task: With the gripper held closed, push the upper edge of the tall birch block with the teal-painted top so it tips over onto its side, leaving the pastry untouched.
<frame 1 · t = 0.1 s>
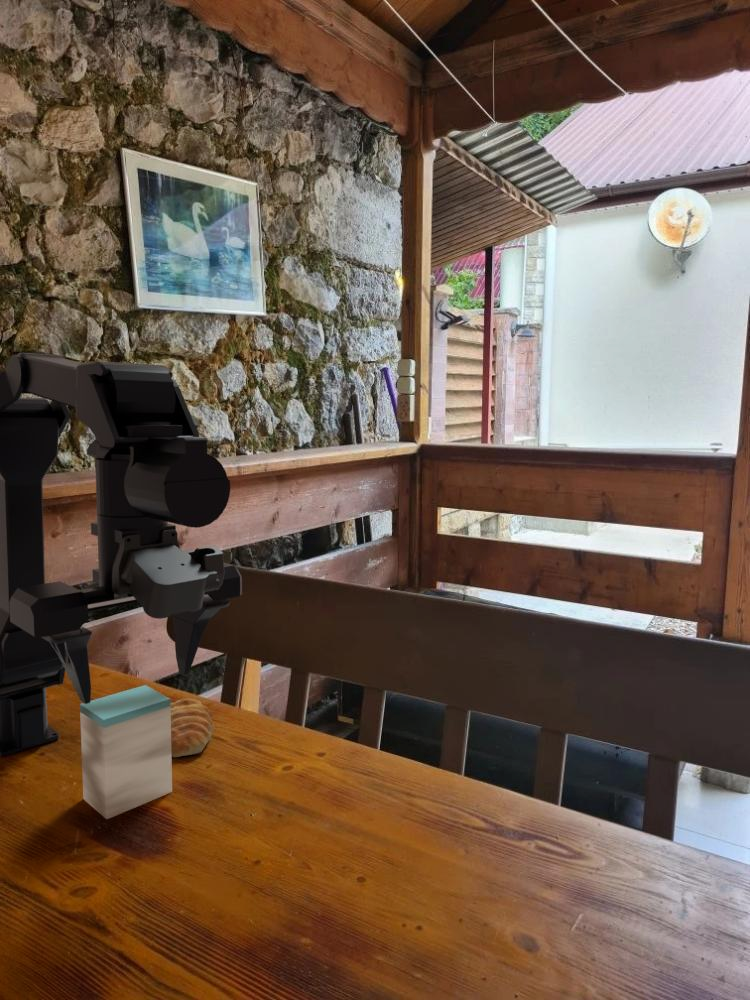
hand: (137, 687, 63), 15 cm above the table, tool pointing down, fingers open, 9 cm apart
birch block: (128, 795, 72), on the table
pastry: (186, 741, 85), on the table
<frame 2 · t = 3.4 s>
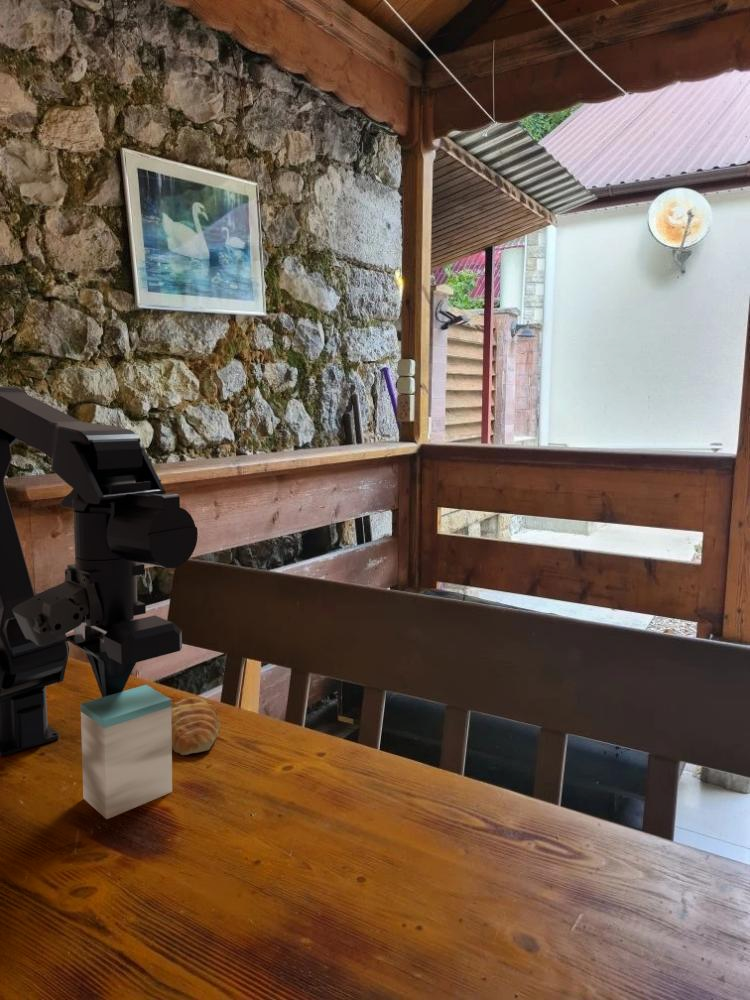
hand: (110, 703, 74), 9 cm above the table, tool pointing down, fingers closed
birch block: (128, 795, 72), on the table, touching gripper
everything else where it was.
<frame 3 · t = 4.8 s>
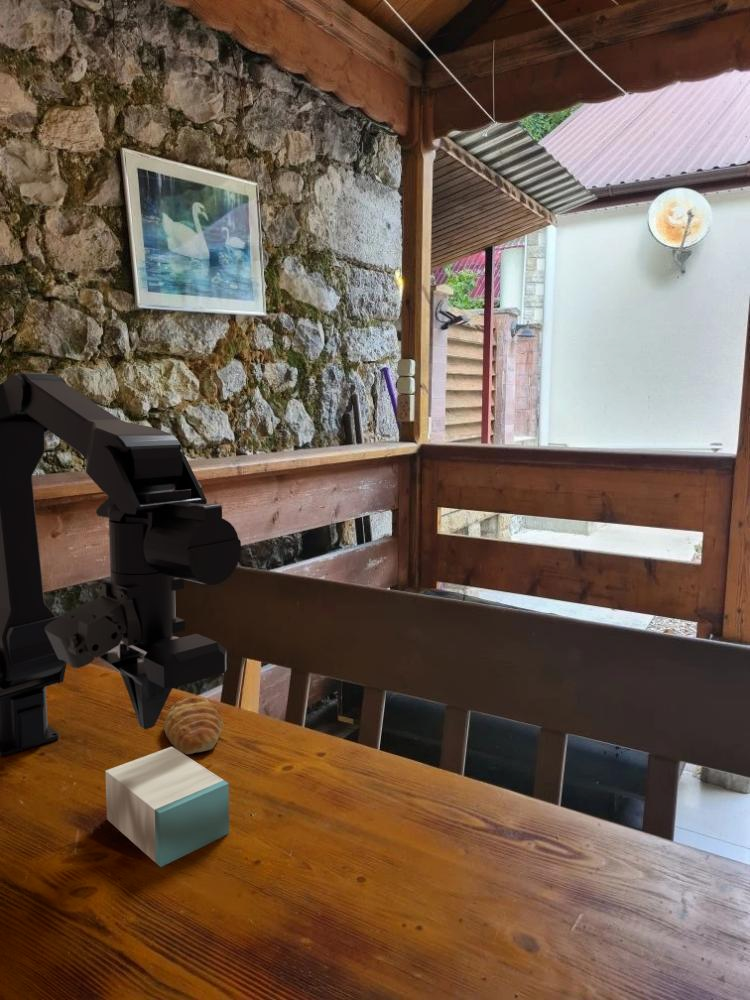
hand: (147, 727, 68), 9 cm above the table, tool pointing down, fingers closed
birch block: (140, 782, 70), point 2 cm above the table, tilted 90°
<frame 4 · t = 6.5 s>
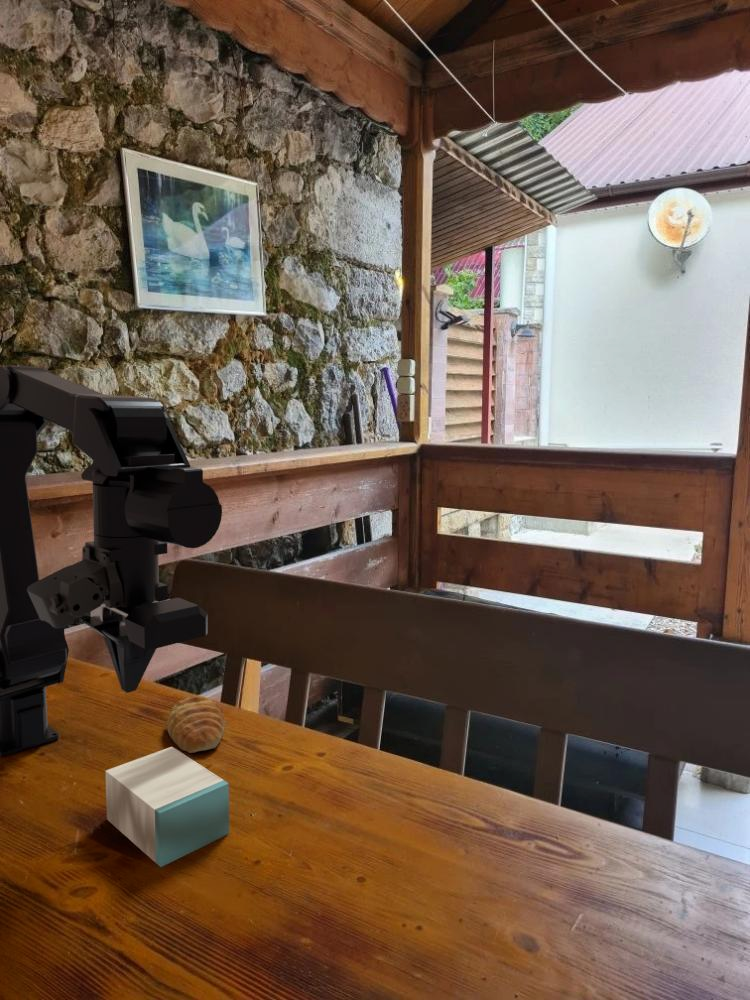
hand: (129, 690, 69), 12 cm above the table, tool pointing down, fingers closed
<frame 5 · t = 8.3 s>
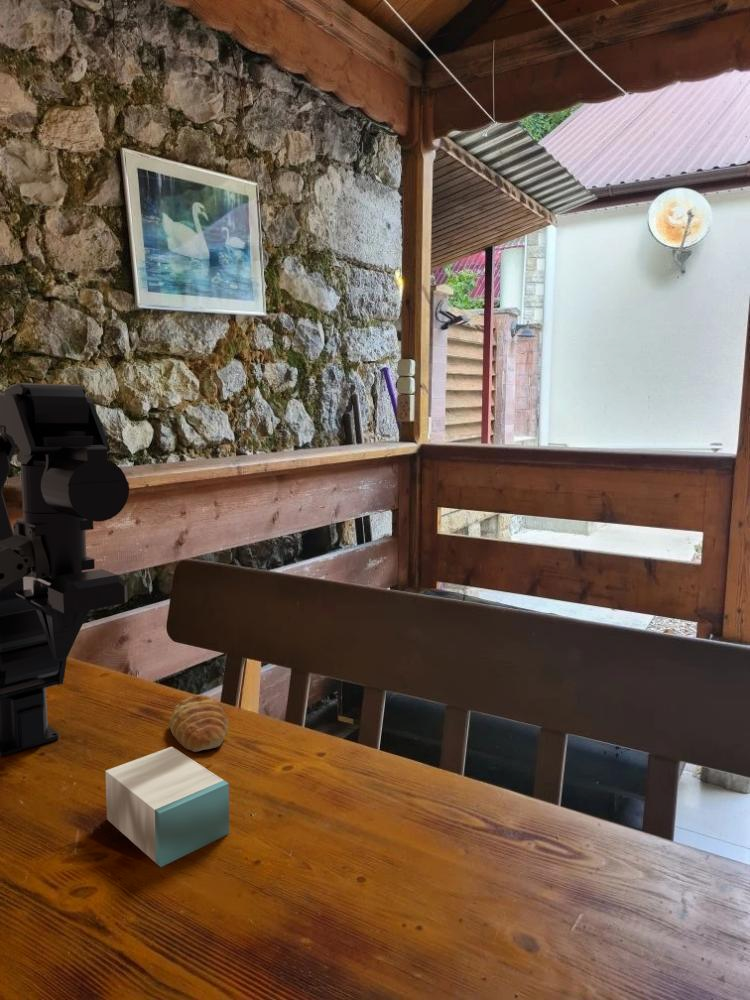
hand: (60, 658, 74), 13 cm above the table, tool pointing down, fingers closed
at the end: birch block tilted 90°; birch block inside the target area (1.9 cm from its centre), point 2.4 cm above the table; pastry moved 2.1 cm from its start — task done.
